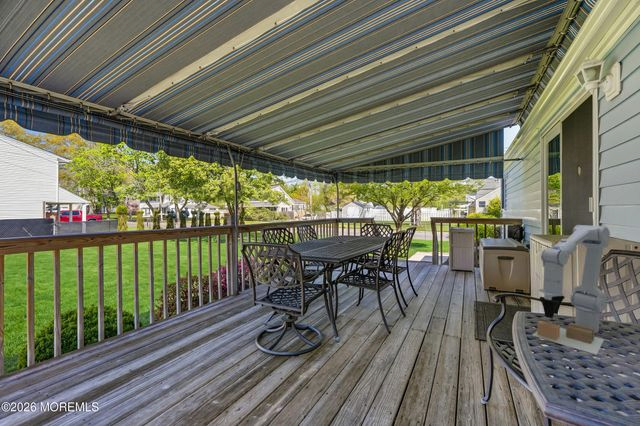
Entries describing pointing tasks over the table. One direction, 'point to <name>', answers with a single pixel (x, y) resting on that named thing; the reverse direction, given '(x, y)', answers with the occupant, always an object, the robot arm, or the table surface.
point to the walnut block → (580, 333)
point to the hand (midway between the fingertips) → (551, 315)
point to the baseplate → (575, 342)
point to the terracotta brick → (548, 330)
